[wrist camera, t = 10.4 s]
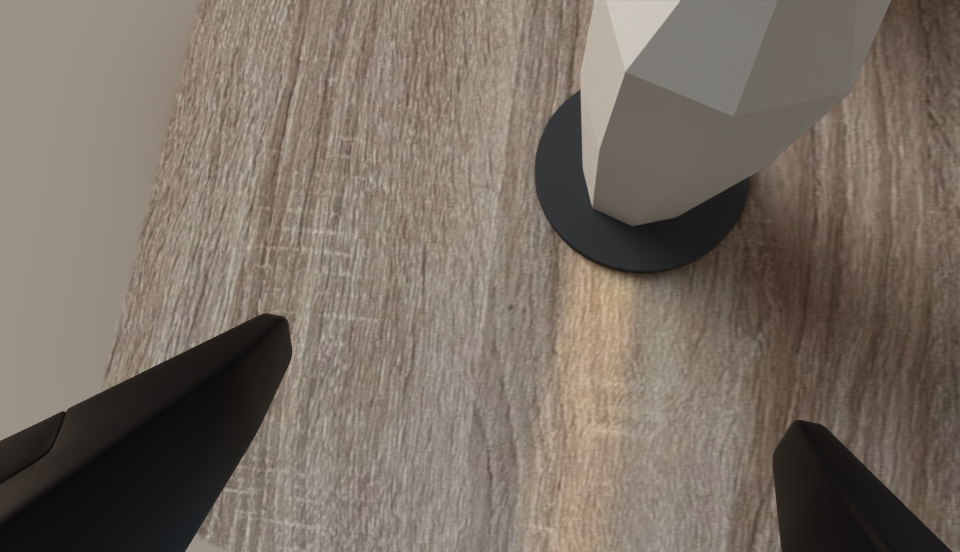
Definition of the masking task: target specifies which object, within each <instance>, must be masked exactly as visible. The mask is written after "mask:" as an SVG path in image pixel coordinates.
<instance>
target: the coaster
mask: <svg viewBox="0 0 960 552" xmlns="http://www.w3.org/2000/svg"><path fill="white" fill-rule="evenodd" d="M535 184H536V190H537V195H538V198H539V201H540V204H541V207H542V209H543V211H544V214H545V216H546V218H547V219H548V221H549V223H550V224H551V226H552V227H553V229H554V230H555V231H556V232H557V234H558V235H559V236H560V237H561V238H562V239H563V240H564V241H565V242H566V243H567V244H568V245H569V246H570V247H571V248H572V249H574V250H575V251H577V252H578V253H579V254H581V255H582V256H584V257H586V258H587V259H589V260H591V261H593V262H595V263H597V264H600V265H603V266H605V267H608V268H611V269H615V270H619V271H624V272H633V273H655V272H662V271H668V270H671V269H675V268H678V267H681V266H684V265H686V264H688V263H691V262H693V261H695V260H697V259H698V258H700V257H702V256H703V255H705V254H706V253H708V252H709V251H710V250H712V249H713V248H714V247H715V246H717V245H718V244H719V243H720V242H721V241H722V240H723V239H724V238H725V237H726V236H727V235H728V233H729V232H730V231H731V229H732V228H733V226H734V225H735V224H736V222H737V220H738V218H739V216H740V214H741V212H742V210H743V207H744V204H745V201H746V198H747V193H748V187H749V177H747V178H746V179H744V180H742V181H740V182H738V183H737V184H735V185H733V186H731V187H730V188H728V189H726V190H724V191H722V192H721V193H719V194H717V195H715V196H713V197H712V198H710V199H708V200H706V201H704V202H703V203H701V204H699V205H697V206H696V207H694V208H692V209H690V210H688V211H687V212H685V213H683V214H681V215H679V216H678V217H676V218H671V219H666V220H661V221H656V222H651V223H646V224H642V225H637V226H631V225H628V224H626V223H624V222H622V221H620V220H617V219H615V218H613V217H611V216H609V215H606V214H604V213H602V212H600V211H598V210H596V209H593V208H592V205H591V201H590V196H589V192H588V188H587V184H586V180H585V176H584V172H583V162H582V123H581V90H579V91H578V92H576V93H575V94H574V95H572V96H571V97H570V98H569V99H567V100H566V101H565V102H564V103H563V104H562V105H561V106H560V107H559V108H558V110H557V111H556V112H555V113H554V115H553V116H552V117H551V119H550V120H549V122H548V124H547V126H546V127H545V129H544V131H543V134H542V136H541V139H540V141H539V145H538V149H537V153H536V161H535Z"/></svg>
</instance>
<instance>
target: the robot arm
mask: <svg viewBox="0 0 960 552" xmlns="http://www.w3.org/2000/svg"><path fill="white" fill-rule="evenodd" d="M291 357H292V345H291V338H290V331H289V324H288V321H287V319H286V318H285V317H283V316H278V315H273V314H268V313H265V314H261V315H259V316H257V317H255V318H253V319H251V320H249V321H247V322H245V323H243V324H241V325H239V326H236V327H234V328H232V329H230V330H228V331H226V332H224V333H222V334H220V335H218V336H216V337H214V338H212V339H210V340H208V341H206V342H204V343H202V344H200V345H198V346H195V347H193V348H191V349H189V350H187V351H185V352H183V353H181V354H179V355H177V356H175V357H173V358H171V359H169V360H167V361H165V362H163V363H161V364H159V365H157V366H155V367H152V368H150V369H148V370H146V371H144V372H142V373H140V374H138V375H136V376H134V377H132V378H130V379H128V380H126V381H124V382H122V383H120V384H118V385H116V386H114V387H111V388H109V389H107V390H105V391H103V392H101V393H99V394H97V395H95V396H93V397H91V398H89V399H87V400H85V401H83V402H81V403H79V404H77V405H75V406H72V407H70V408H69V409H68V410H67V412H64V411H63V412H60V413H58V414H56V415H54V416H52V417H50V418H48V419H46V420H44V421H42V422H39V423H38V424H35V425H33V426H31V427H29V428H27V429H25V430H22V431H20V432H18V433H16V434H14V435H12V436H10V437H8V438H5V439H3V440H1V441H0V552H185V551H186V549H187V547H188V546H189V544H190V543H191V541H192V539H193V538H194V536H195V534H196V533H197V531H198V529H199V528H200V526H201V524H202V523H203V521H204V519H205V518H206V516H207V515H208V513H209V511H210V510H211V508H212V506H213V505H214V503H215V501H216V500H217V498H218V496H219V495H220V493H221V492H222V490H223V488H224V487H225V485H226V483H227V482H228V480H229V478H230V477H231V475H232V473H233V472H234V470H235V468H236V467H237V465H238V464H239V462H240V460H241V459H242V457H243V455H244V454H245V452H246V450H247V449H248V447H249V445H250V444H251V442H252V440H253V439H254V437H255V435H256V433H257V431H258V429H259V427H260V425H261V423H262V421H263V419H264V417H265V415H266V413H267V411H268V409H269V406H270V404H271V402H272V400H273V398H274V396H275V393H276V391H277V389H278V387H279V385H280V383H281V381H282V378H283V376H284V374H285V372H286V370H287V368H288V366H289V363H290V361H291ZM772 463H773V474H774V484H775V493H776V503H777V513H778V523H779V533H780V541H781V549H782V552H952V551H951V550H950V549H949V548H948V547H947V546H946V545H945V544H944V543H943V542H942V541H941V540H940V539H939V538H938V537H937V536H936V535H935V534H934V533H933V532H932V531H931V530H930V529H928V528H927V527H926V526H925V525H924V524H923V523H922V522H921V521H920V520H919V519H918V518H917V517H916V516H915V515H914V514H913V513H912V512H911V511H910V510H909V509H908V508H907V507H906V506H905V505H904V504H903V503H902V502H901V501H900V500H899V499H898V498H897V497H896V496H895V495H894V494H893V493H892V492H891V491H890V490H889V489H888V488H887V487H886V486H885V485H884V484H883V483H882V482H881V481H880V480H879V479H878V478H877V477H876V476H875V475H874V474H873V473H872V472H871V471H869V470H868V469H867V468H866V467H865V466H864V465H863V464H862V463H861V462H860V461H859V460H858V459H857V458H856V457H855V456H854V455H853V454H852V453H851V452H850V451H849V450H848V449H847V448H846V447H845V446H844V445H843V444H842V443H841V442H840V441H839V440H838V439H837V438H836V437H835V436H834V435H833V434H832V433H831V432H830V431H829V430H828V429H827V428H825V427H824V426H823V425H821V424H818V423H813V422H808V421H803V420H796V421H794V422H792V423H791V425H790V426H789V428H788V429H787V431H786V433H785V434H784V436H783V438H782V439H781V441H780V442H779V444H778V446H777V447H776V449H775V451H774V454H773V462H772Z"/></svg>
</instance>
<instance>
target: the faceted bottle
mask: <svg viewBox="0 0 960 552" xmlns="http://www.w3.org/2000/svg"><path fill="white" fill-rule="evenodd" d="M890 2H891V0H595V1H594V6H593V11H592V17H591V22H590V27H589V32H588V38H587V43H586V48H585V53H584V59H583V64H582V69H581V74H580V84H581V123H582V162H583V172H584V176H585V180H586V184H587V188H588V192H589V196H590V201H591V205H592V208H593V209H596V210H598V211H600V212H602V213H604V214H606V215H609V216H611V217H613V218H615V219H617V220H620V221H622V222H624V223H626V224H628V225H631V226H637V225H642V224H646V223H651V222H656V221H661V220H666V219H671V218H676V217H678V216H679V215H681V214H683V213H685V212H687V211H688V210H690V209H692V208H694V207H696V206H697V205H699V204H701V203H703V202H704V201H706V200H708V199H710V198H712V197H713V196H715V195H717V194H719V193H721V192H722V191H724V190H726V189H728V188H730V187H731V186H733V185H735V184H737V183H738V182H740V181H742V180H744V179H746V178H747V177H749V176H751V175H753V174H755V173H756V172H758V171H760V170H762V169H764V168H765V167H766V166H768V165H769V164H770V163H771V162H772V161H773V160H774V159H775V158H777V157H778V156H779V155H780V154H781V153H782V152H783V151H785V150H786V149H787V148H788V147H789V146H790V145H791V144H792V143H794V142H795V141H796V140H797V139H798V138H799V137H800V136H802V135H803V134H804V133H805V132H806V131H807V130H808V129H809V128H811V127H812V126H813V125H814V124H815V123H816V122H817V121H819V120H820V119H821V118H822V117H823V116H824V115H825V114H826V113H828V112H829V111H830V110H831V109H832V108H833V107H834V106H836V105H837V104H838V103H839V102H840V101H841V100H842V99H843V98H845V97H846V96H847V95H848V94H849V93H850V92H851V91H852V88H853V86H854V84H855V82H856V79H857V77H858V75H859V72H860V70H861V68H862V66H863V63H864V61H865V59H866V57H867V54H868V52H869V50H870V47H871V45H872V43H873V41H874V38H875V36H876V34H877V31H878V29H879V27H880V25H881V22H882V20H883V18H884V16H885V13H886V11H887V9H888V6H889V4H890Z"/></svg>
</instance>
